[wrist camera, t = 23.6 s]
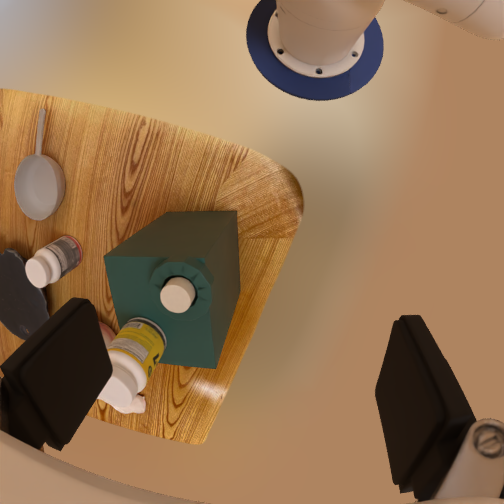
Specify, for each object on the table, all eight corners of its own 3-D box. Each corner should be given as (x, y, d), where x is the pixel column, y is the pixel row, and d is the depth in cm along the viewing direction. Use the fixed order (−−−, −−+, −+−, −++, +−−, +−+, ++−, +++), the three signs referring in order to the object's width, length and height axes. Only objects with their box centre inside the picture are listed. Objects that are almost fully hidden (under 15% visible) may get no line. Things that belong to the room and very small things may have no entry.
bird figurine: (111, 389, 61) (147, 413, 58) (91, 402, 54) (129, 428, 52) (113, 373, 60) (151, 396, 57) (93, 385, 53) (132, 412, 51)
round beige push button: (164, 276, 26) (157, 284, 25) (193, 277, 26) (188, 285, 24) (168, 303, 27) (162, 312, 26) (197, 304, 27) (192, 314, 25)
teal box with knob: (166, 210, 44) (93, 259, 26) (242, 208, 43) (208, 262, 25) (175, 288, 48) (122, 367, 30) (245, 291, 47) (220, 380, 29)
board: (59, 349, 57) (46, 363, 52) (-7, 298, 56) (-20, 308, 51) (70, 269, 49) (53, 281, 45) (-4, 217, 48) (-21, 224, 43)
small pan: (26, 207, 46) (12, 213, 43) (35, 107, 40) (21, 107, 36) (68, 221, 46) (54, 228, 43) (81, 111, 40) (66, 110, 36)
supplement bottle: (156, 361, 31) (125, 418, 23) (119, 336, 31) (80, 387, 23) (175, 334, 30) (144, 394, 22) (135, 307, 29) (93, 359, 21)
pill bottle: (65, 267, 49) (30, 292, 40) (55, 237, 48) (18, 258, 38) (88, 264, 48) (53, 289, 39) (77, 231, 47) (40, 253, 37)
